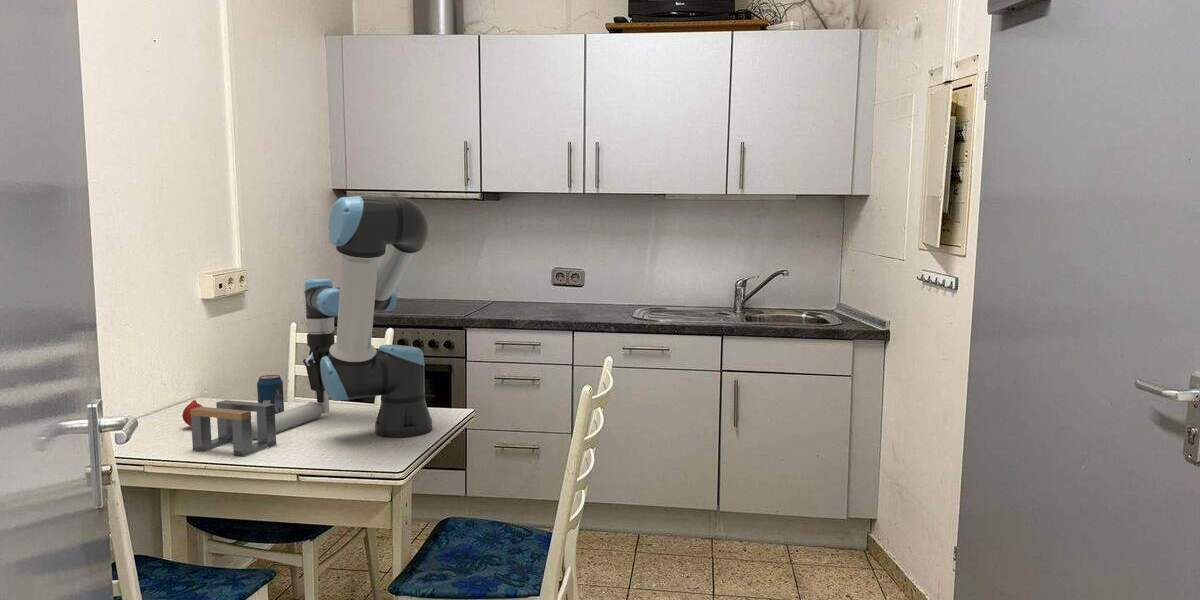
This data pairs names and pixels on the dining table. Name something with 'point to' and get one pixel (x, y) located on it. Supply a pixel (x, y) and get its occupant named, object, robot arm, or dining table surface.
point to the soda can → (271, 391)
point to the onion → (189, 412)
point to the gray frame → (234, 426)
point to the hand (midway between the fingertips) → (323, 412)
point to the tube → (292, 417)
